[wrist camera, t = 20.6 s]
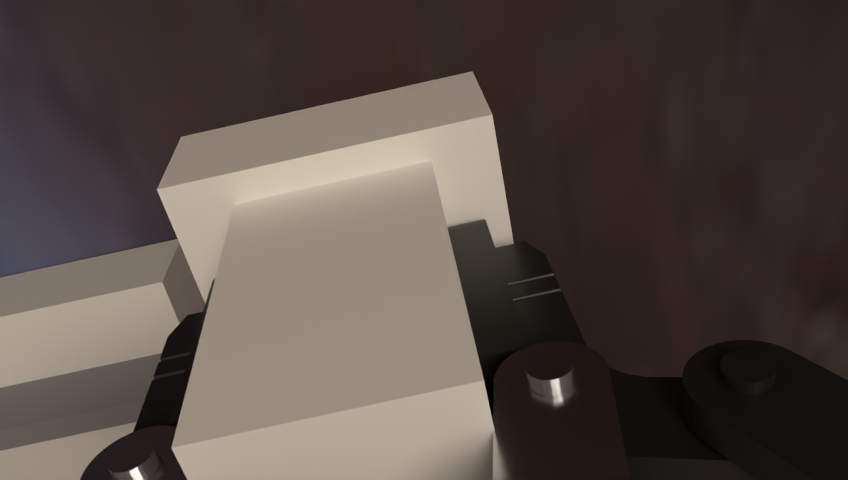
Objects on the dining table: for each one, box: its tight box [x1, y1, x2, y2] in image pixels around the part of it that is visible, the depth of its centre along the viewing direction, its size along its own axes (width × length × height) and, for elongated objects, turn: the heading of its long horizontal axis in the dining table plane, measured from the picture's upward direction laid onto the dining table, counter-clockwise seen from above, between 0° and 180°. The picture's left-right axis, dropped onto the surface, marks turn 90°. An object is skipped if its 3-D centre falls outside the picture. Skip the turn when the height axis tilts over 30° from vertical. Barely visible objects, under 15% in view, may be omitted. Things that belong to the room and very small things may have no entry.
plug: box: [157, 72, 514, 480], centre depth 12 cm, size 7×5×7 cm
